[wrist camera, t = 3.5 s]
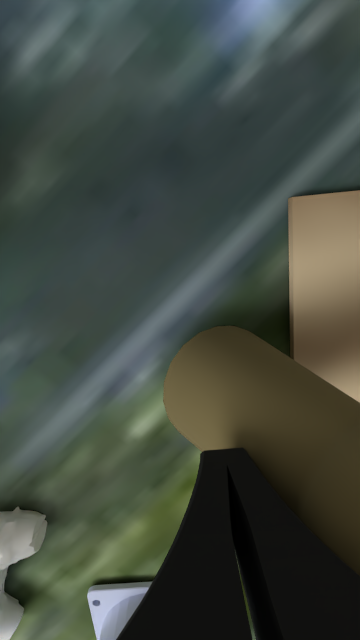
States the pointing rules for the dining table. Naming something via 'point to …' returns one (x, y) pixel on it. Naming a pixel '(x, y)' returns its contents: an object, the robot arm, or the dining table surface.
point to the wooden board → (326, 287)
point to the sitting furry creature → (16, 558)
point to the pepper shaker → (274, 427)
